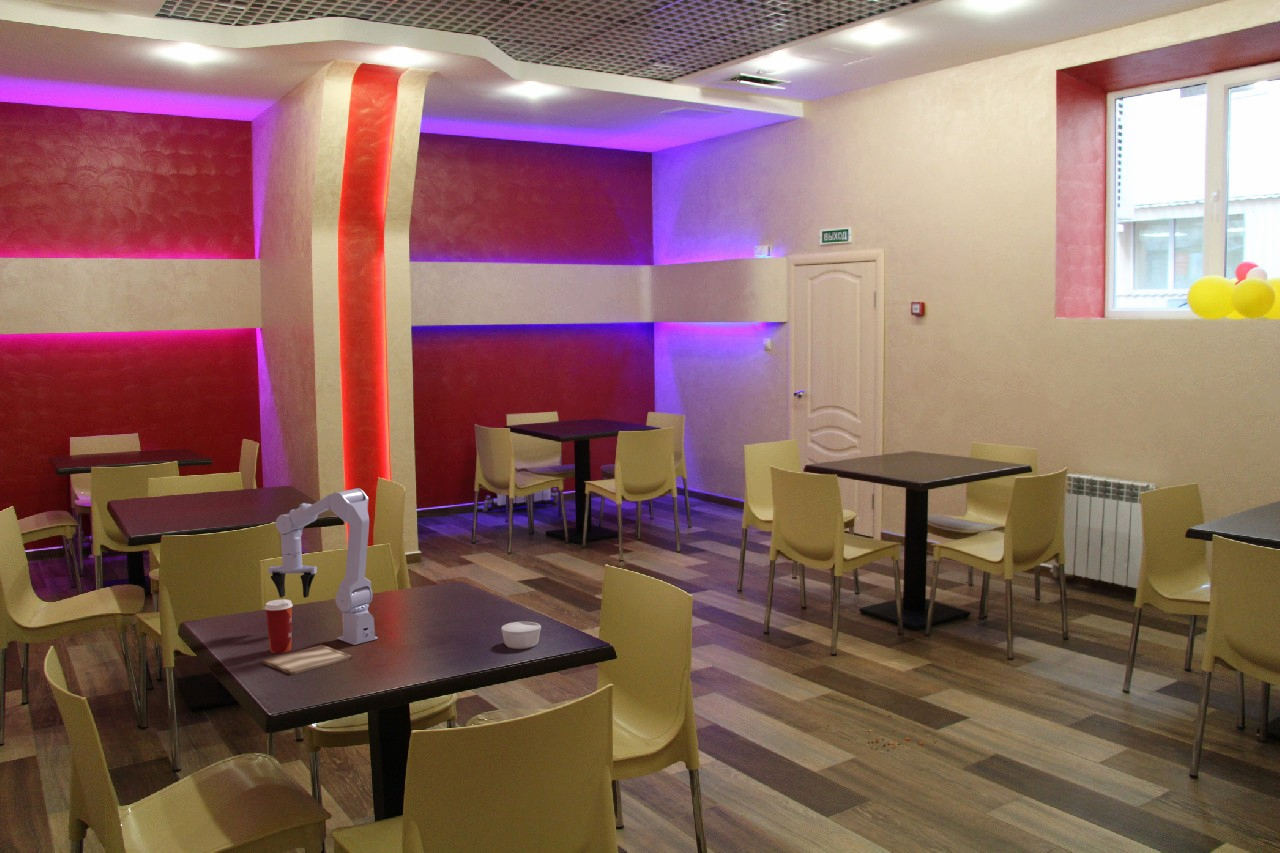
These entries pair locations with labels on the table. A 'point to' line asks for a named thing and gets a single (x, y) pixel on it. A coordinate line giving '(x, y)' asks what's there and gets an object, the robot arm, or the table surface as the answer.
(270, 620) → the paper cup
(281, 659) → the birch board
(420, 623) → the table surface
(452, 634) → the table surface
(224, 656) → the table surface
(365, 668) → the table surface
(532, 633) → the ramekin
